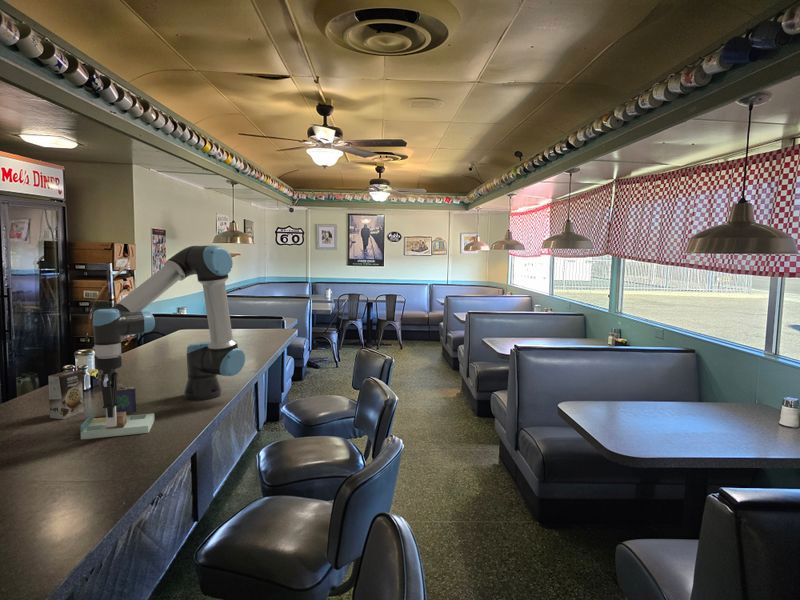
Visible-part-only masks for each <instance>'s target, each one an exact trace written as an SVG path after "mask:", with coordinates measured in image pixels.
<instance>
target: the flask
mask: <svg viewBox="0 0 800 600" xmlns="http://www.w3.org/2000/svg"><path fill="white" fill-rule="evenodd" d="M136 394H137V393H136V388H135V386H134V387H133V386H128V387H127V386H124V385H123V383H117V402H116V403H119V404H118V405H115V406H116V412H126V415H127V414H134V413H137V400H136V399H137V395H136Z"/></svg>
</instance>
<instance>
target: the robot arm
mask: <svg viewBox="0 0 800 600" xmlns="http://www.w3.org/2000/svg"><path fill="white" fill-rule="evenodd" d="M233 264H234V262H233V257H232V255H231V253H230V252H229V250H227V249H226V248H225V247H223V246H220V245H192V246H191V245H190V246H188V247H185V248H183V249H182V250H180V251H178V252H177V253H175V254H173V255H172V256H171V257H170V258H168V259H167V260H166V261H165V262H164V264H163V265H164V266H163V267H161V268H160V269H159V270H157V271H156V272H155V273H153V274H152V275H151V276H150V277H148V279H146V280H145V281H143V282H142V283H141V284H140V285H138V286H137V287H135V288H134V289H133V290H132V291H131V292H130V293H128V294H127V295H126V296H125V297H123V298H122V299H120V301H118V302H117V303H116V304H114V305H113V306H112V307H110V308H100V309H96V310H95V311H93V314H92V328H93V342H94V343H93V345H94V346H93V347H92V350H94V357H95V358H94V363H95V364H94V365H95V367H94V368H95V369H96V370H98V371H102V374H101V376H100V379H101V381H100V386H101V393H102V402H103V406H102V409H105V418H106V424H107V427H113V426H116V425H117V417H116V406H115V405H118V404H119V403H116V402H117V389H118V376H119V373H118V372H117V371H116V369H120V368H121V367H122V366H123V365H122V364H123V363H122V362H123V361H122V356H121V355H122V341H121V339H122V337H126V336H132V335H133V336H134V335H139V334H145V333H150V332H152V331H153V330H154V329H155V325H156V323H155V322H156V321H155V317H154V315H153V314H152V313H151V312H150V311H143V310H144V309H146V308H147V307H148V306H150V305H151V304H152V303H153V302H154V301H155V300H157V299H158V298H159V297H160V296H162V295H163V294H164V293H165V292H166V291H168V290H169V289H170V288H171V287H172V286H174V285H175V284H176V283H177V282H178V281H184V280H185V279H186V278H188V277H191V276H193V275H196V277H197V282H198V283H200V284H201V285H202V291H203V295H204V297H203V298H204V304H205V310H206V316H207V317H206V318H207V323H208V331H209V336H210V337H209V338H210V341H203V342H197V343H192V344H189V345H188V346H187V347H186V364H187V366H186V367H187V368H186V371H187V381H186V384H185V386H184V389H183V398H184V399H185V400H189V401H202V400H204V401H205V400H210V399H215V398H217V397H220V396H221V395H222V387H221V384H220V382H219V381H220V380H218V379H219V378H218V377H217V376H223V377H235V376H236V375H239V373H240V372H242V370H243V368H244V366H245V363H246V354H245V352H244V351H243V350H242V349H240V348H239V347H238V341H237V340H236V339H235V338H233V337H234V336H233V330H232V324H231V323H232V322H231V315H230V308H229V302H228V294H227V287H226V282H227V280H228V279H229V273H231V271H232V268H233Z"/></svg>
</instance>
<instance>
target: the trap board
mask: <svg viewBox="0 0 800 600" xmlns="http://www.w3.org/2000/svg"><path fill="white" fill-rule="evenodd" d="M155 420H156V419H155V413H153V412H152V413H142V414H132V415H130V414H129V415H126V421H127V423H126V425H125V426H124V428H114V429H107V424H106V417H97V418H95V413H94V412H91V413H90V415H89V416H88V417H87V418H86V419H85V421H83V422H82V423H81V424H80V426H79V427H80V440H91V439H97V438H98V439H99V438H109V437H120V436H129V435H139V434H141V435H142V434H149V433H150V431H151V428H152V427H153V424H154V423H155Z"/></svg>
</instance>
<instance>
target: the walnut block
mask: <svg viewBox="0 0 800 600" xmlns="http://www.w3.org/2000/svg"><path fill="white" fill-rule="evenodd" d="M126 416H127V414H126V412H116V417H117V425H116V426H113V427H107V429H114V428H124V426H125V425H126V423H127V421H126Z"/></svg>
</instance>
